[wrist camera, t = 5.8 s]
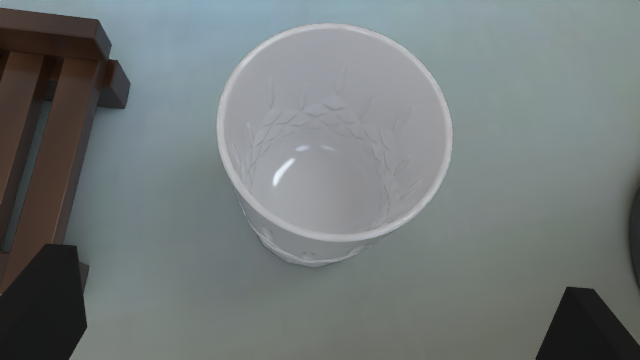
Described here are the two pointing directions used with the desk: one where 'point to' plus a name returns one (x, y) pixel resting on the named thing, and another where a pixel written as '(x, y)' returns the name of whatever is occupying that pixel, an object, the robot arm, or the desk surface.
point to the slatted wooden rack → (48, 121)
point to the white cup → (332, 140)
